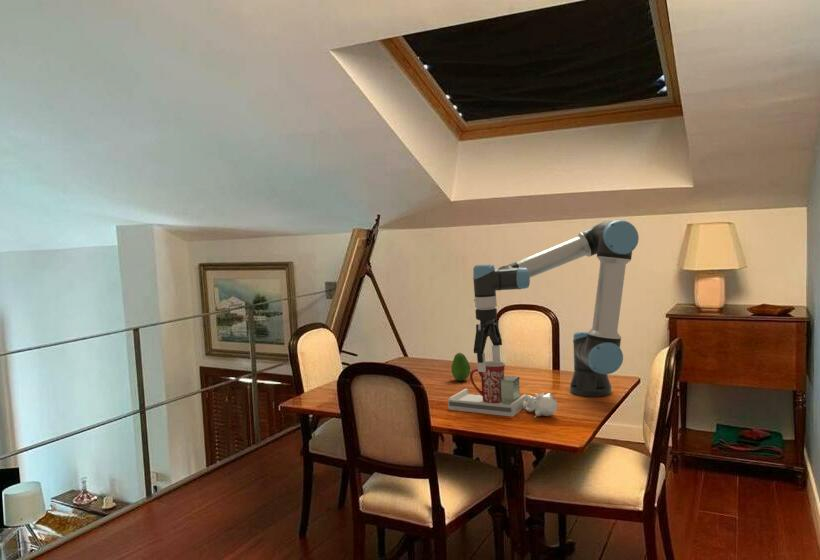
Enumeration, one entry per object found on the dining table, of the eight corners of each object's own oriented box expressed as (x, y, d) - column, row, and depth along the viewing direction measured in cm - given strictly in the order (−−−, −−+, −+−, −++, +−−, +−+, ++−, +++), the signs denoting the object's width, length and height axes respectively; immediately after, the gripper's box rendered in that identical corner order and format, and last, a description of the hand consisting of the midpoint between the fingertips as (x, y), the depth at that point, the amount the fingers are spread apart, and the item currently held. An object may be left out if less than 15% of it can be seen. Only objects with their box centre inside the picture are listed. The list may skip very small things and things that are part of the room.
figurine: (529, 384, 216) (552, 385, 202) (544, 397, 217) (568, 399, 203) (513, 409, 213) (535, 411, 199) (528, 422, 214) (551, 425, 200)
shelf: (527, 405, 219) (527, 394, 219) (512, 416, 206) (512, 405, 206) (465, 399, 231) (465, 388, 231) (448, 409, 218) (447, 398, 218)
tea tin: (520, 402, 216) (519, 376, 215) (514, 406, 211) (513, 380, 210) (507, 401, 218) (507, 375, 218) (501, 405, 213) (500, 379, 212)
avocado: (450, 382, 257) (449, 354, 256) (452, 378, 265) (451, 351, 264) (470, 382, 256) (468, 354, 255) (471, 378, 264) (470, 350, 263)
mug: (503, 396, 224) (502, 360, 223) (508, 403, 215) (507, 365, 214) (468, 398, 224) (467, 362, 223) (472, 405, 215) (471, 367, 214)
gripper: (489, 303, 230) (492, 359, 231) (461, 313, 208) (465, 374, 210) (508, 303, 226) (511, 360, 228) (481, 313, 205) (485, 375, 206)
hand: (489, 367), depth 219 cm, fingers open, 13 cm apart
